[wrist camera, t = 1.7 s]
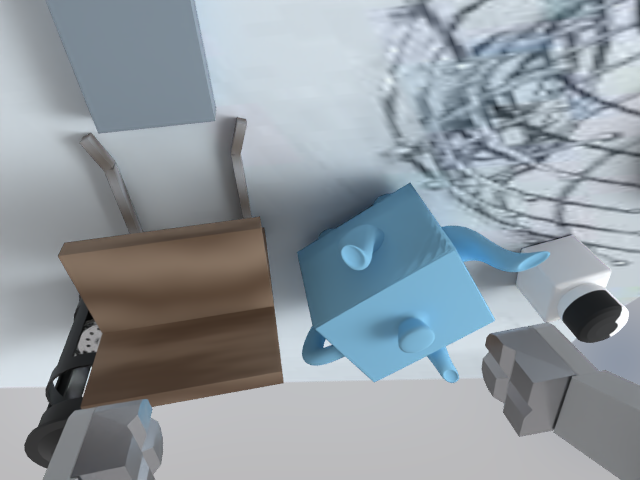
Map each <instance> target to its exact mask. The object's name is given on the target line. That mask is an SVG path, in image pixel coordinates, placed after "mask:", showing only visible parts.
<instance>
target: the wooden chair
mask: <svg viewBox="0 0 640 480" xmlns="http://www.w3.org/2000/svg"><path fill="white" fill-rule="evenodd" d="M246 126H247V122H246V119H242V118H238V117H237V121H236V126H235V131H234V136H233V141H232V146H231V157H232V162H233V168H234V173H235V178H236V183H237V188H238V194H239V199H240V204H241V209H242V215H243V219H239V220H231V221H224V222H216V223H209V224H201V225H194V226H186V227H179V228H171V229H164V230H157V231H149V232H143V231H142V228H141V226H140V223H139V221H138V218H137V216H136V213H135V210H134V208H133V205H132V203H131V200H130V197H129V195H128V192H127V190H126V187H125V184H124V182H123V179H122V177H121V174H120V172H119V169H118V166H117V164H116V163H115V160H114V159H113V158H112V157H111V156H110V155H109V153H108V152H107V151H106V150H105V149H104V147H103V146H102V145H101V144H100V143H99V142H98V140H97V139H96V138H95V137H94V136H93V134H92V133H90V134H88V135H86V136H84V137H83V138H82V140H81V141H80V144H81V145H82V147H83V148H84V149H85V150H86V151H87V152H88V153H89V155H90V156H91V157H92V158H93V159H94V160H95V161H96V162H97V164H98V165H99V166H100V167H101V168H102V169H103V170H104V172H105V175H106V177H107V179H108V182H109V184H110V187H111V189H112V192H113V194H114V196H115V199H116V201H117V204H118V206H119V209H120V211H121V213H122V216H123V218H124V221H125V223H126V226H127V228H128V230H129V233H130V234H127V235H119V236H112V237H104V238H97V239H90V240H82V241H75V242H67V243H64V245H63V247H62V249H61V251H60V253H59V255H58V257H59V259H60V261H61V262H62V264H63V266H64V268H65V269H66V271H67V273H68V275H69V276H70V278H71V280H72V282H73V283H74V285H75V287H76V289H77V290H78V292H79V294H80V296H81V297H82V299H83V301H84V303H85V304H86V306H87V308H88V310H89V311H90V313H91V315H92V317H93V318H94V320H95V322H96V324H97V325H98V327H99V329H100V331H101V332H102V336H101V339H100V343H99V346H98V349H97V353H96V356H95V359H94V363H93V366H92V370H91V373H90V376H89V380H88V383H87V386H86V390H85V393H84V396H83V400H82V403H81V406H80V407H81V409H88V408H94V407H98V406H104V405H110V404H116V403H123V402H129V401H135V400H141V399H148V401H149V403H150V405H151V407H154V406H159V405H165V404H171V403H176V402H181V401H187V400H193V399H198V398H204V397H209V396H215V395H220V394H226V393H231V392H237V391H242V390H248V389H253V388H259V387H264V386H270V385H275V384H281V383H284V382H283V374H282V366H281V358H280V350H279V341H278V333H277V325H276V317H275V309H274V301H273V292H272V284H271V276H270V268H269V260H268V252H267V243H266V236H265V230H264V228H262V227H261V221H260V217H253V218H252V215H251V210H250V204H249V198H248V193H247V187H246V181H245V176H244V170H243V164H242V158H241V149H242V144H243V140H244V135H245V130H246Z"/></svg>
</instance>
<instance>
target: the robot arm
mask: <svg viewBox="0 0 640 480" xmlns="http://www.w3.org/2000/svg"><path fill="white" fill-rule="evenodd" d="M485 346H486V347H487V349H488V350H489V352H488V354H487V355H486V356H485V357H484V358H483V362H482V373H483V378H484V381H485V383H486V386H487V388H488V390H489V391H490V393H491V394H492V396H493V397H494V398H496V399H498V400H499V401H501V402H503V403H504V409H503V413H504V415H505V416H506V418H507V419H508V420H509V422H510V423H511V425H512V427H513V428H514V430H515V431H516V433H517V434H518V436H519V437H520V436H526V435H531V434H537V433H541V432H548V431H553V430H554V433H555V434H557V435H558V436H560V437H561V438H562V439H564V440H565V441H567V442H568V443H569V444H571V445H572V446H574V447H575V448H576V449H578V450H579V451H581V452H582V453H584V454H585V455H586V456H588V457H589V458H591V459H592V460H594V461H595V462H596V463H598V464H599V465H601V466H602V467H603V468H605V469H606V470H608V471H609V472H611V473H612V474H613V475H615V476H616V477H618V478H619V479H621V480H640V386H639V385H637V384H635V383H633V382H631V381H628V380H626V379H624V378H622V377H620V376H617V375H615V374H613V373H611V372H609V371H606V370H603V371H599V370H598V369H597V368H596V367H595V366H594V365H593V364H592V363H591V362H590V361H589V360H588V359H587V358H586V357H585V356H584V355H583V354H582V353H581V352H580V351H579V350H578V349H577V348H576V347H575V346H574V345H573V344H572V343H571V342H570V341H569V340H568V339H567V338H566V337H565V336H564V335H563V334H562V333H561V332H560V331H559V330H558V329H557V328H556V327H555V326H554V325H552V324H550V323H542V324H537V325H532V326H528V327H521V328H516V329H511V330H506V331H501V332H496V333H491V334H489V335H488V337H487V338H486V344H485ZM151 413H152V407H151V405H150V403H149V401H148V399H141V400H135V401H129V402H123V403H116V404H110V405H104V406H98V407H94V408H88V409H82V410H76V411H74V412H73V413H72V414H71V415H70V416H69V418H68V420H67V422H66V425H65V427H64V430H63V432H62V434H61V437H60V439H59V442H58V444H57V446H56V449H55V451H54V453H53V456H52V458H51V461H50V463H49V465H48V468H47V470H46V473H45V475H44V477H43V480H155V478H154V476H153V474H154V473H155V472H156V470H157V469H158V468H159V466H160V465H161V461H162V455H163V437H162V432H161V428H160V426H159V423H158V422H157V421H156V420H154V419H152V418H151Z"/></svg>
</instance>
